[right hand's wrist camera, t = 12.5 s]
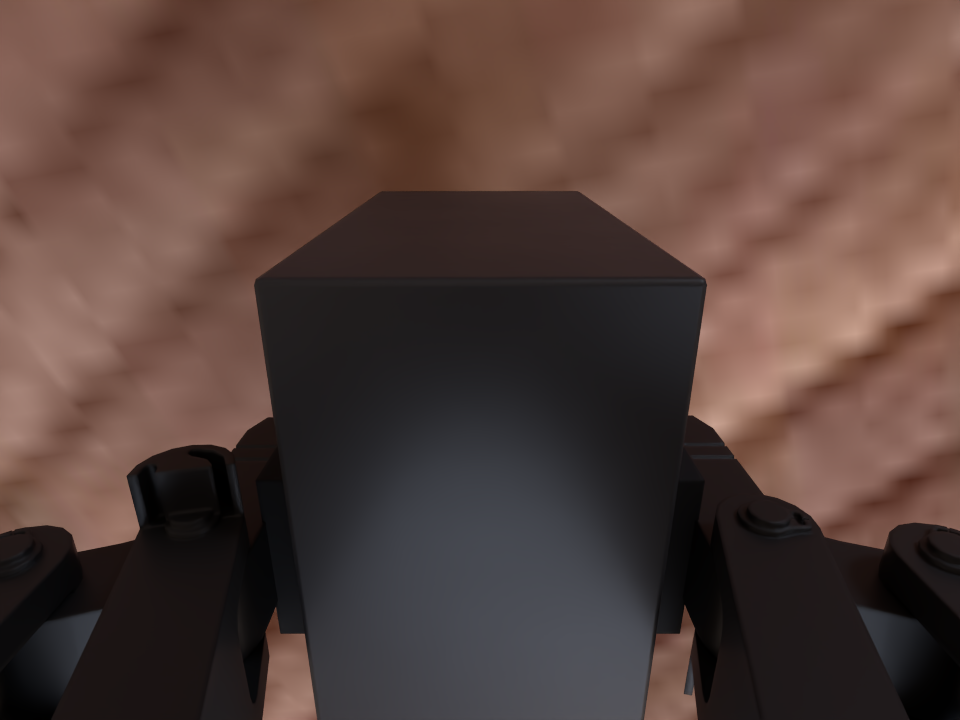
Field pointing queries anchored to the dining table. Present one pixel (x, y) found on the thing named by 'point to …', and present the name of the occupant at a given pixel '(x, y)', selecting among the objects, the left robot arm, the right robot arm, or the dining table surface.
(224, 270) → the dining table surface
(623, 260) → the bar
